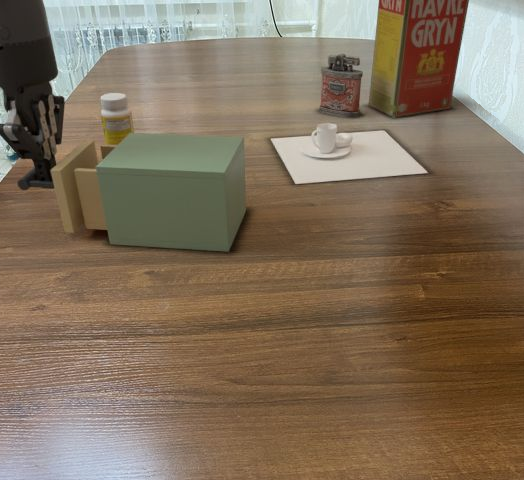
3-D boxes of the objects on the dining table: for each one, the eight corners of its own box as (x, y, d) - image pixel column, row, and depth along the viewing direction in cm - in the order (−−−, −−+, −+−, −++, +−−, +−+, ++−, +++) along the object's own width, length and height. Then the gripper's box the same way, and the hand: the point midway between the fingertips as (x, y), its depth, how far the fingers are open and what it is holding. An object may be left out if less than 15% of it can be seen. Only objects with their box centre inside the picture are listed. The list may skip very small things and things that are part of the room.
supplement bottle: (114, 144, 101) (105, 91, 96) (140, 145, 101) (133, 92, 96) (102, 154, 98) (92, 99, 93) (130, 156, 97) (121, 101, 92)
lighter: (315, 111, 114) (318, 54, 108) (325, 107, 116) (327, 50, 110) (354, 118, 111) (358, 59, 104) (362, 114, 113) (367, 55, 107)
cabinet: (109, 244, 73) (95, 166, 67) (140, 204, 82) (129, 132, 76) (228, 251, 71) (224, 172, 65) (246, 210, 80) (243, 137, 74)
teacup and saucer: (347, 141, 101) (349, 116, 98) (361, 158, 94) (364, 131, 92) (295, 145, 100) (296, 120, 97) (306, 162, 93) (307, 135, 91)
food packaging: (393, 119, 110) (412, -45, 95) (366, 105, 117) (379, -50, 102) (453, 109, 114) (480, -50, 99) (423, 96, 121) (444, -54, 106)
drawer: (19, 229, 75) (1, 167, 70) (55, 195, 83) (41, 137, 78) (172, 239, 72) (164, 175, 67) (193, 202, 80) (188, 143, 75)
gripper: (10, 21, 71) (45, 166, 82) (-53, 45, 61) (-4, 207, 72) (71, 22, 70) (98, 168, 81) (17, 46, 60) (56, 210, 71)
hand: (50, 186), depth 76 cm, fingers closed
